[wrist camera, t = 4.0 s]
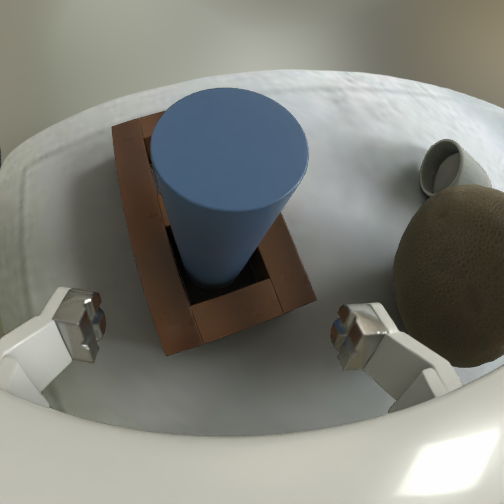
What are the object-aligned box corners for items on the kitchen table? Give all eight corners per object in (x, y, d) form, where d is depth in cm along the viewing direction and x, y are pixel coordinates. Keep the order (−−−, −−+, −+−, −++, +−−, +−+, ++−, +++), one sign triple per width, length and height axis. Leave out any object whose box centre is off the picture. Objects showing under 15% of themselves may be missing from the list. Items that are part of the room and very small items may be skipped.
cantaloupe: (446, 237, 27) (541, 189, 12) (449, 356, 23) (560, 350, 8) (352, 215, 25) (463, 122, 10) (349, 369, 21) (500, 392, 6)
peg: (194, 297, 20) (171, 234, 6) (177, 243, 21) (139, 104, 7) (249, 278, 21) (335, 187, 7) (230, 227, 22) (272, 80, 8)
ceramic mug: (461, 228, 28) (502, 206, 20) (421, 206, 27) (465, 176, 19) (451, 166, 31) (483, 140, 24) (412, 141, 30) (445, 109, 23)
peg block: (173, 350, 19) (166, 356, 15) (121, 152, 22) (111, 126, 19) (297, 304, 22) (317, 300, 18) (224, 125, 25) (228, 97, 21)
